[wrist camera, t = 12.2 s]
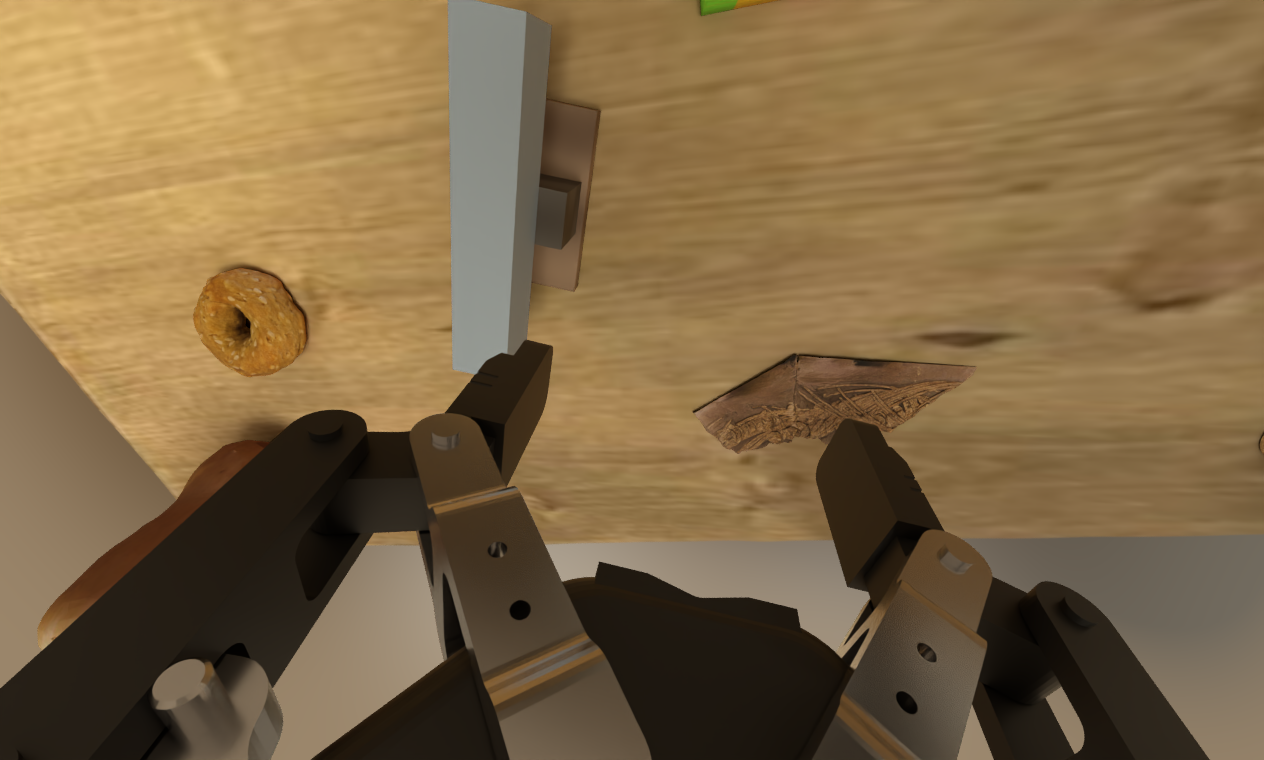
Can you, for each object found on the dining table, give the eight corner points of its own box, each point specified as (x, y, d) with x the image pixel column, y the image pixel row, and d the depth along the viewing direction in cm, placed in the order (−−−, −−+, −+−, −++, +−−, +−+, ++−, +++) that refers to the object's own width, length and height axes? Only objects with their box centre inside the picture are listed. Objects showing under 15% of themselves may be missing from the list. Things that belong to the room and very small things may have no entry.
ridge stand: (483, 84, 35) (444, 82, 30) (600, 110, 35) (584, 112, 30) (480, 264, 43) (448, 289, 37) (577, 285, 43) (560, 313, 37)
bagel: (323, 297, 46) (287, 315, 42) (304, 377, 52) (271, 401, 48) (220, 243, 45) (172, 257, 40) (212, 332, 50) (170, 353, 46)
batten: (485, 10, 28) (447, -6, 23) (551, 25, 28) (526, 11, 23) (478, 340, 39) (452, 369, 35) (525, 350, 39) (505, 381, 35)
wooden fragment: (701, 454, 51) (701, 461, 50) (684, 367, 46) (684, 372, 45) (963, 427, 46) (969, 433, 45) (979, 325, 41) (985, 330, 40)
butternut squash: (257, 485, 61) (24, 692, 40) (238, 403, 54) (-55, 600, 33) (362, 513, 62) (188, 732, 40) (357, 435, 55) (144, 649, 33)
